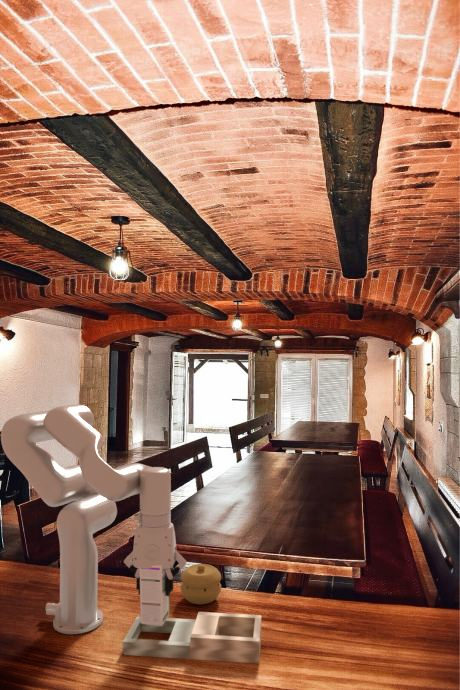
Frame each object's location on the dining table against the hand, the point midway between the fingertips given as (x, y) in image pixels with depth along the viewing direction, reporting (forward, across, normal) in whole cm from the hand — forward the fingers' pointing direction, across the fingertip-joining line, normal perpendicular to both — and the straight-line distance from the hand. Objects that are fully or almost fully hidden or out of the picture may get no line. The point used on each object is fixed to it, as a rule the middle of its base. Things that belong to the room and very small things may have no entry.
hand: (155, 592), depth 127 cm
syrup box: (+7, 0, 0) cm, 7 cm away
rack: (+12, +10, 0) cm, 16 cm away
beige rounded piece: (+12, +8, +23) cm, 27 cm away
